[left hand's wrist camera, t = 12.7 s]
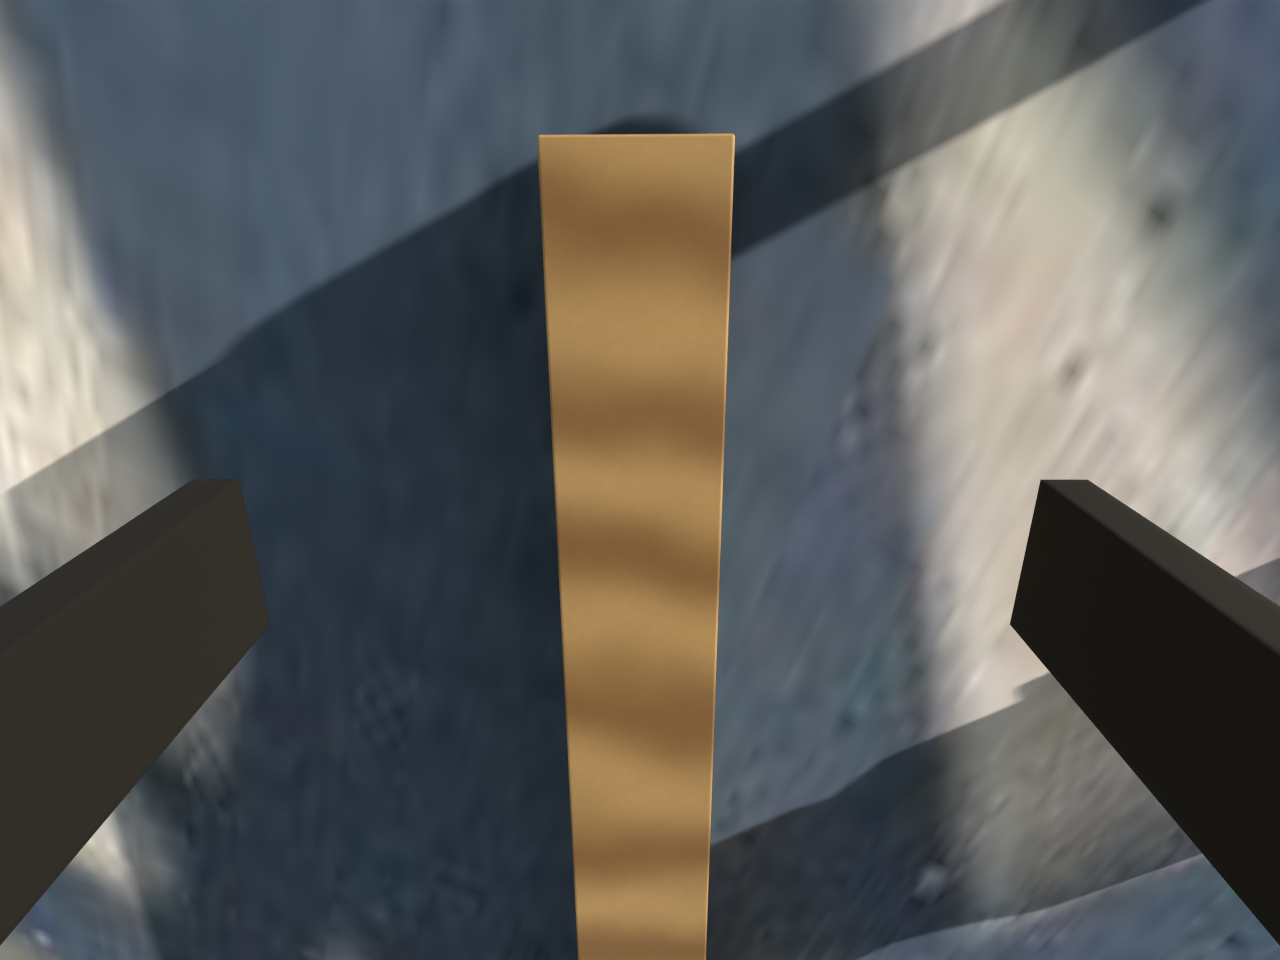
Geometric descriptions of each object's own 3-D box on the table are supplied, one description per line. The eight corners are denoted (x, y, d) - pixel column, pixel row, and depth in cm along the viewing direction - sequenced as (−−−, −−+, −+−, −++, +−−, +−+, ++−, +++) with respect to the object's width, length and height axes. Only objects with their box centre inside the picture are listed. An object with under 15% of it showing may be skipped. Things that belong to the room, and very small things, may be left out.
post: (562, 150, 28) (536, 134, 21) (710, 150, 28) (735, 133, 21) (601, 1154, 50) (595, 1318, 43) (685, 1154, 50) (693, 1318, 43)
